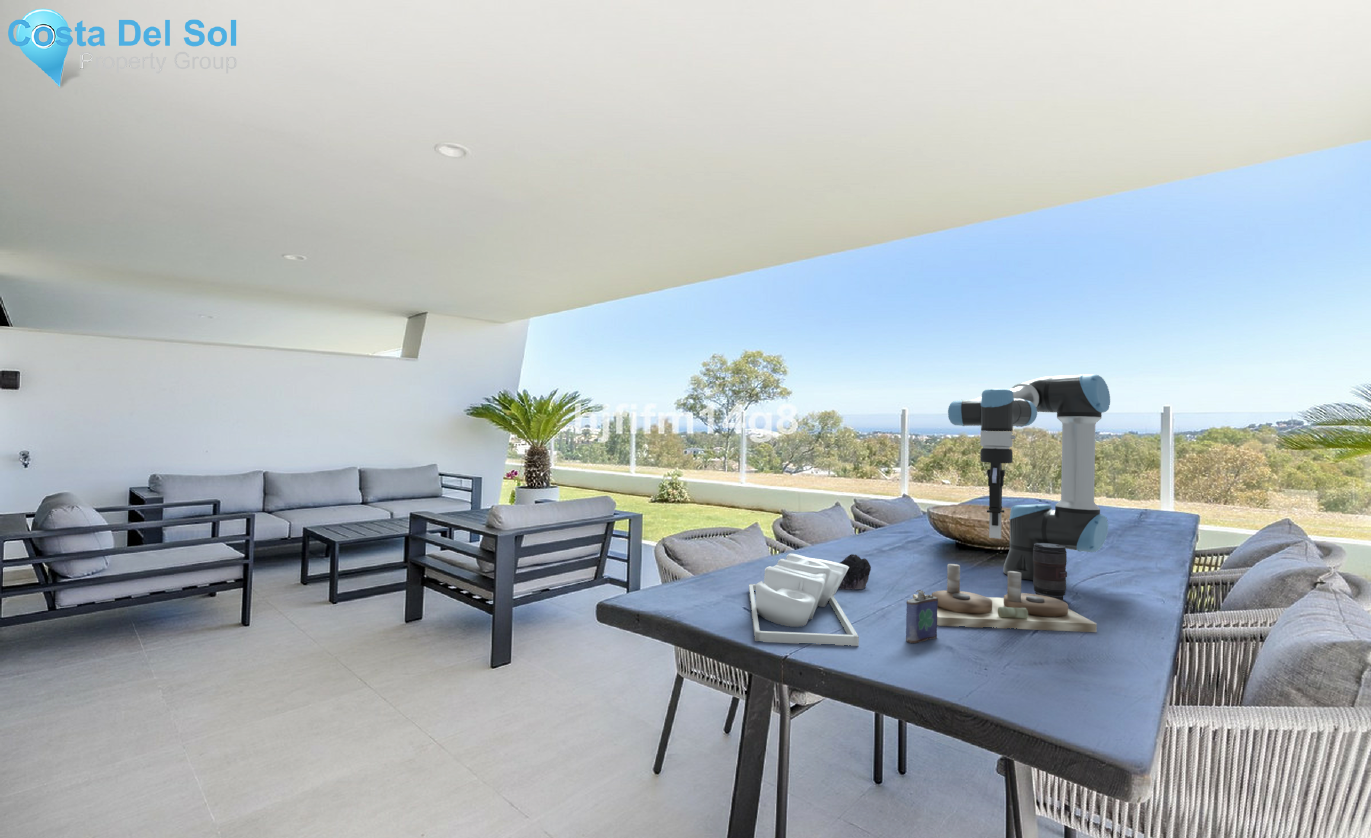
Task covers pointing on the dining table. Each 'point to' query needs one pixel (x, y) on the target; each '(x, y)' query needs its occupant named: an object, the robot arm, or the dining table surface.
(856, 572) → the crystal cluster
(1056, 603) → the dial
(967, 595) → the dial
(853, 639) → the white rectangular frame
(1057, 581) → the camera lens
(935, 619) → the flask
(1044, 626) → the base
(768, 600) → the wavy white extrusion
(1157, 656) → the dining table surface
